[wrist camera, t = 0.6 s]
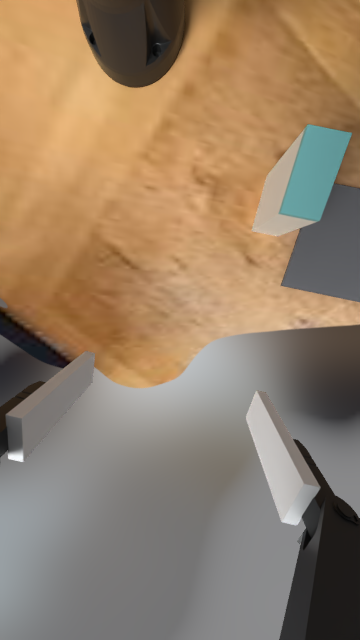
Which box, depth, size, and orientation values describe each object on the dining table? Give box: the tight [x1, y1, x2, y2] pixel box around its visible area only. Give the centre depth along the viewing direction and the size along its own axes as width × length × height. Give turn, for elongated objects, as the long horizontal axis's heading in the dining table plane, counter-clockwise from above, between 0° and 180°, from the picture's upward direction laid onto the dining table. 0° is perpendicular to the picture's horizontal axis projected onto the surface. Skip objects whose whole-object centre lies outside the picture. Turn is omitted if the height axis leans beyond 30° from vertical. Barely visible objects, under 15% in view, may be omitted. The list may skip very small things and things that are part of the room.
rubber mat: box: [281, 183, 360, 302], centre depth 34 cm, size 18×18×1 cm
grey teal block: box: [252, 124, 352, 236], centre depth 28 cm, size 9×5×12 cm, turn 169°
